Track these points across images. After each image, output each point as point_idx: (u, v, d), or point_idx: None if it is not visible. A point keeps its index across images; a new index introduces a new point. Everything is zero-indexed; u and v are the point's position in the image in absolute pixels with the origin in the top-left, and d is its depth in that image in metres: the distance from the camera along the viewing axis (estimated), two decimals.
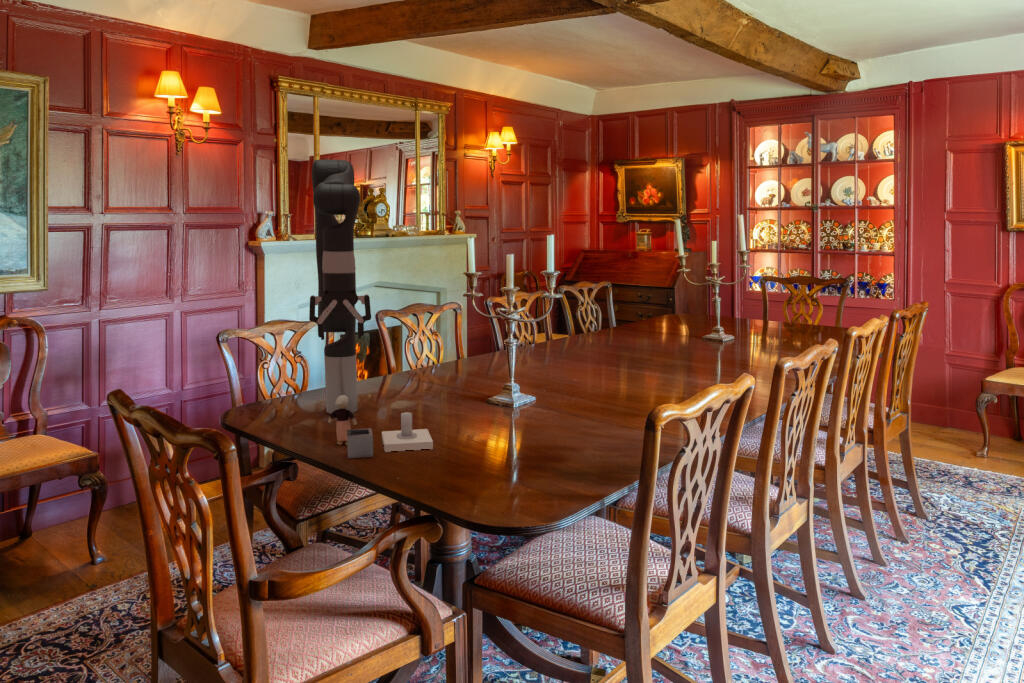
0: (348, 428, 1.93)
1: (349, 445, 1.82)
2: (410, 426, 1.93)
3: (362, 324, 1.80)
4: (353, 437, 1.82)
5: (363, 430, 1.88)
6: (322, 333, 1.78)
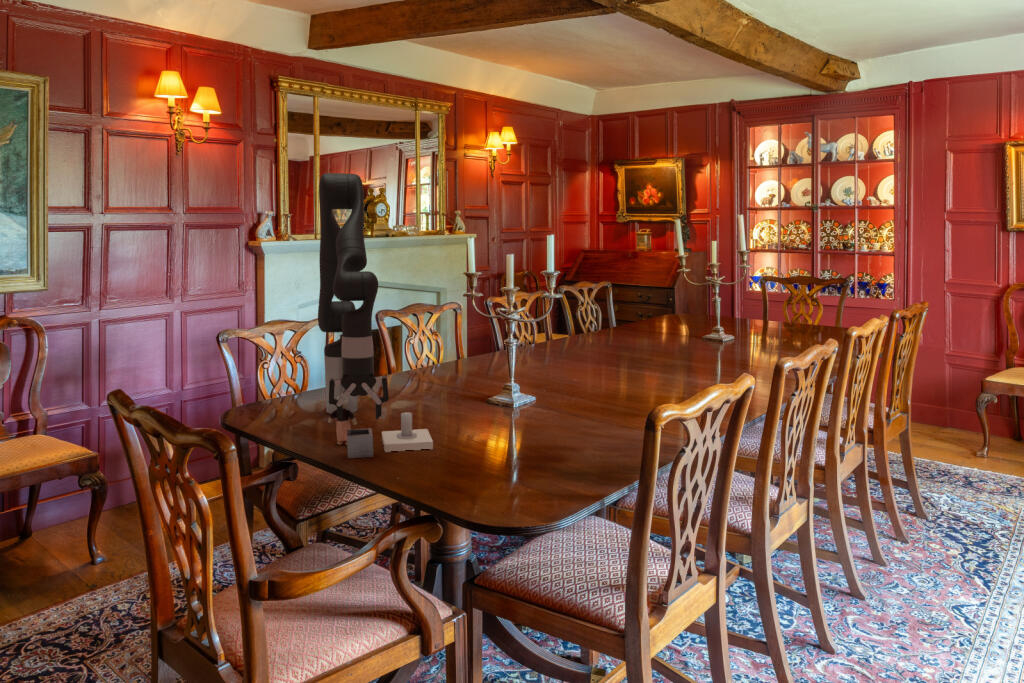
0: (348, 428, 1.93)
1: (349, 445, 1.82)
2: (410, 426, 1.93)
3: (380, 405, 1.84)
4: (353, 437, 1.82)
5: (363, 430, 1.88)
6: (341, 415, 1.82)
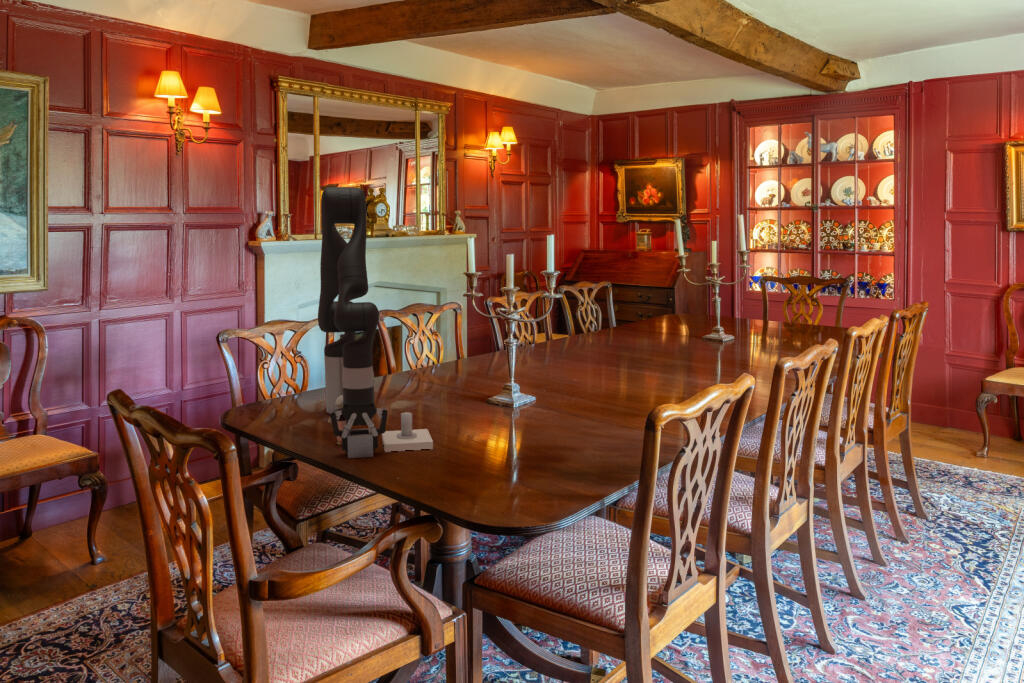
0: None
1: (349, 445, 1.82)
2: (410, 426, 1.93)
3: (376, 437, 1.86)
4: (353, 437, 1.82)
5: (363, 430, 1.88)
6: (346, 446, 1.84)
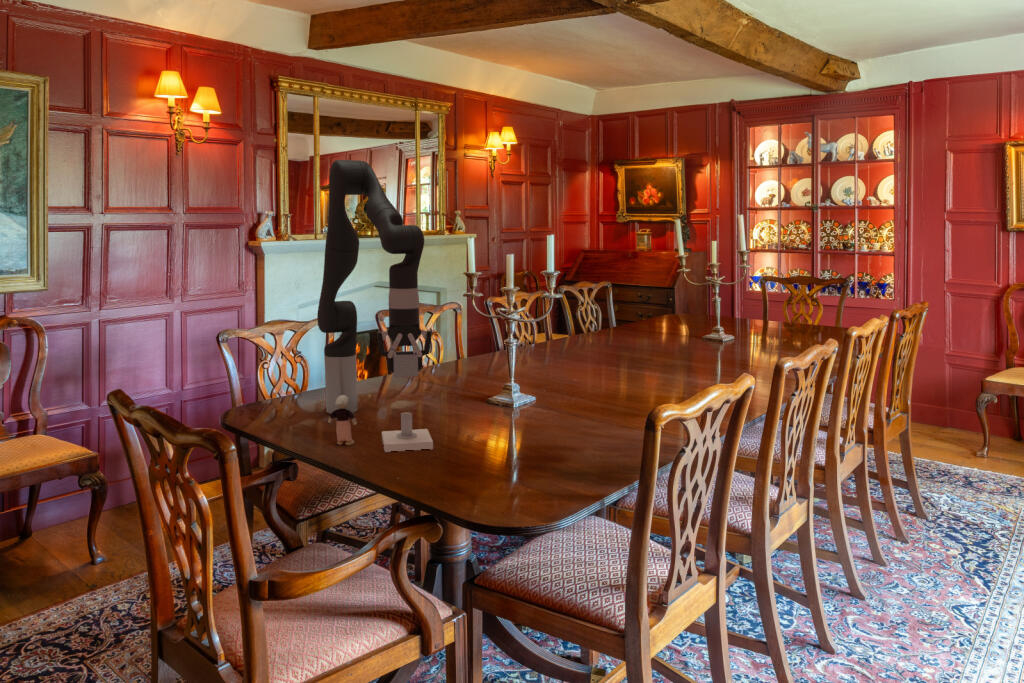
0: (348, 428, 1.93)
1: (395, 364, 1.88)
2: (410, 426, 1.93)
3: (421, 358, 1.91)
4: (399, 357, 1.88)
5: (407, 352, 1.93)
6: (392, 366, 1.90)
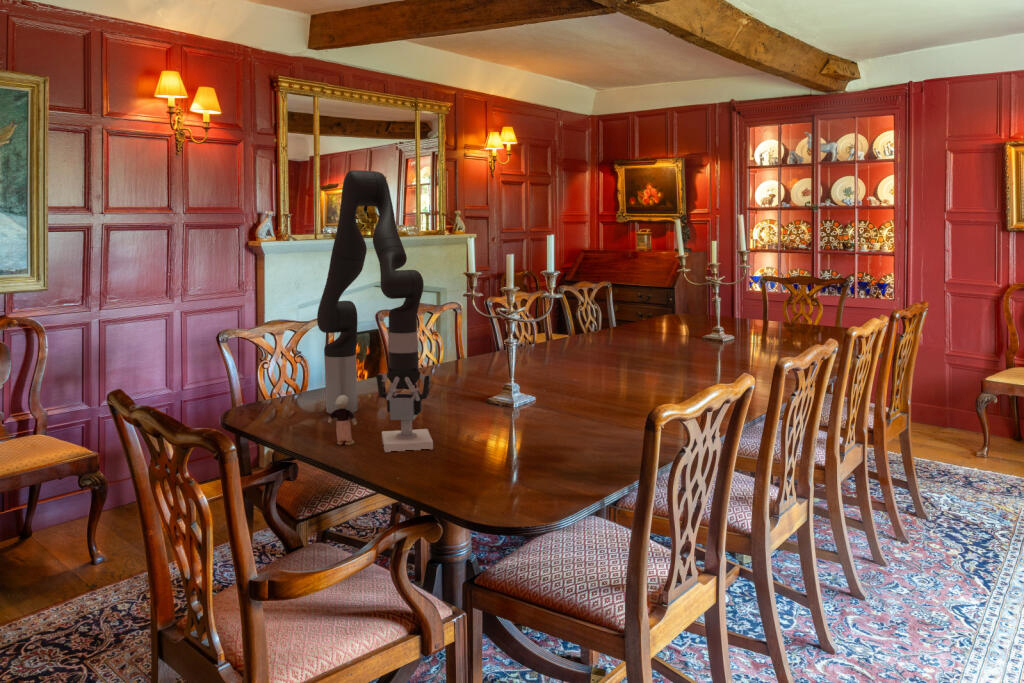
0: (348, 428, 1.93)
1: (391, 407, 1.90)
2: (410, 426, 1.93)
3: (419, 402, 1.91)
4: (395, 399, 1.89)
5: (409, 395, 1.94)
6: None
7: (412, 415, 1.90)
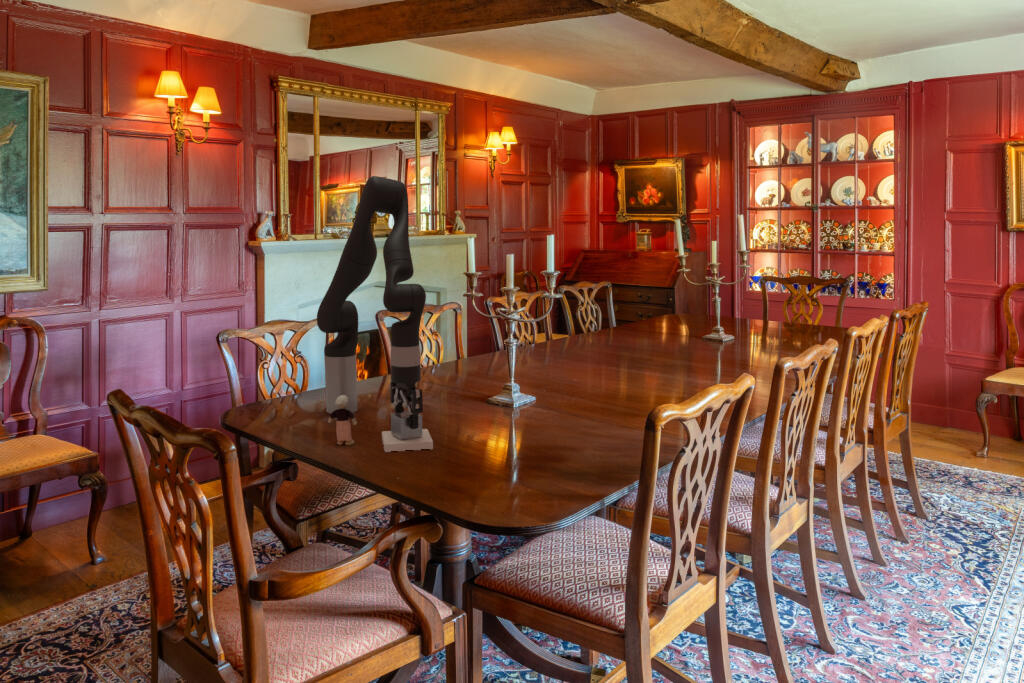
0: (348, 428, 1.93)
1: (391, 422, 1.94)
2: None
3: (412, 416, 1.89)
4: (393, 415, 1.93)
5: None
6: None
7: (400, 434, 1.90)
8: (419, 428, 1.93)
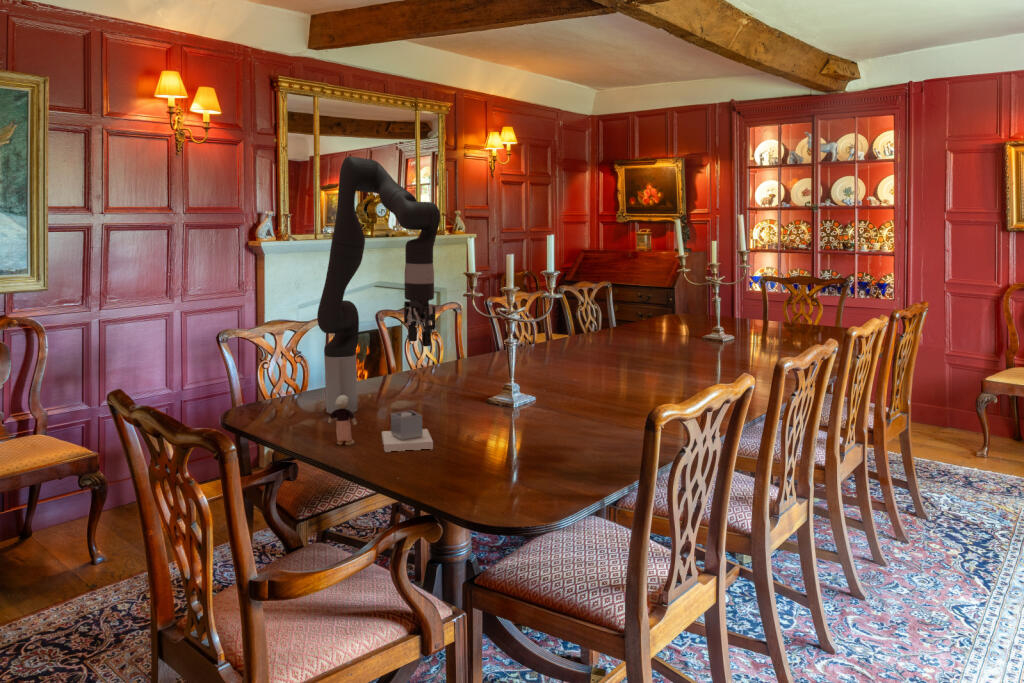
0: (348, 428, 1.93)
1: (391, 422, 1.94)
2: None
3: (425, 333, 1.90)
4: (393, 415, 1.93)
5: (416, 414, 1.94)
6: (408, 335, 1.98)
7: (400, 434, 1.90)
8: (419, 428, 1.93)
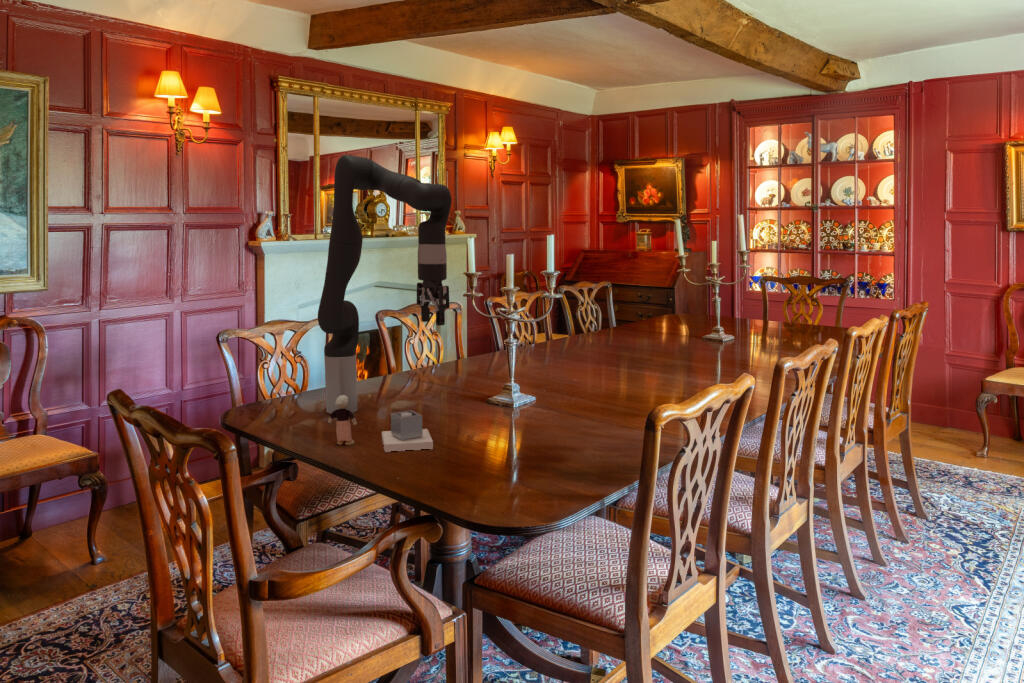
0: (348, 428, 1.93)
1: (391, 422, 1.94)
2: None
3: (439, 312, 1.94)
4: (393, 415, 1.93)
5: (416, 414, 1.94)
6: (421, 316, 2.02)
7: (400, 434, 1.90)
8: (419, 428, 1.93)
